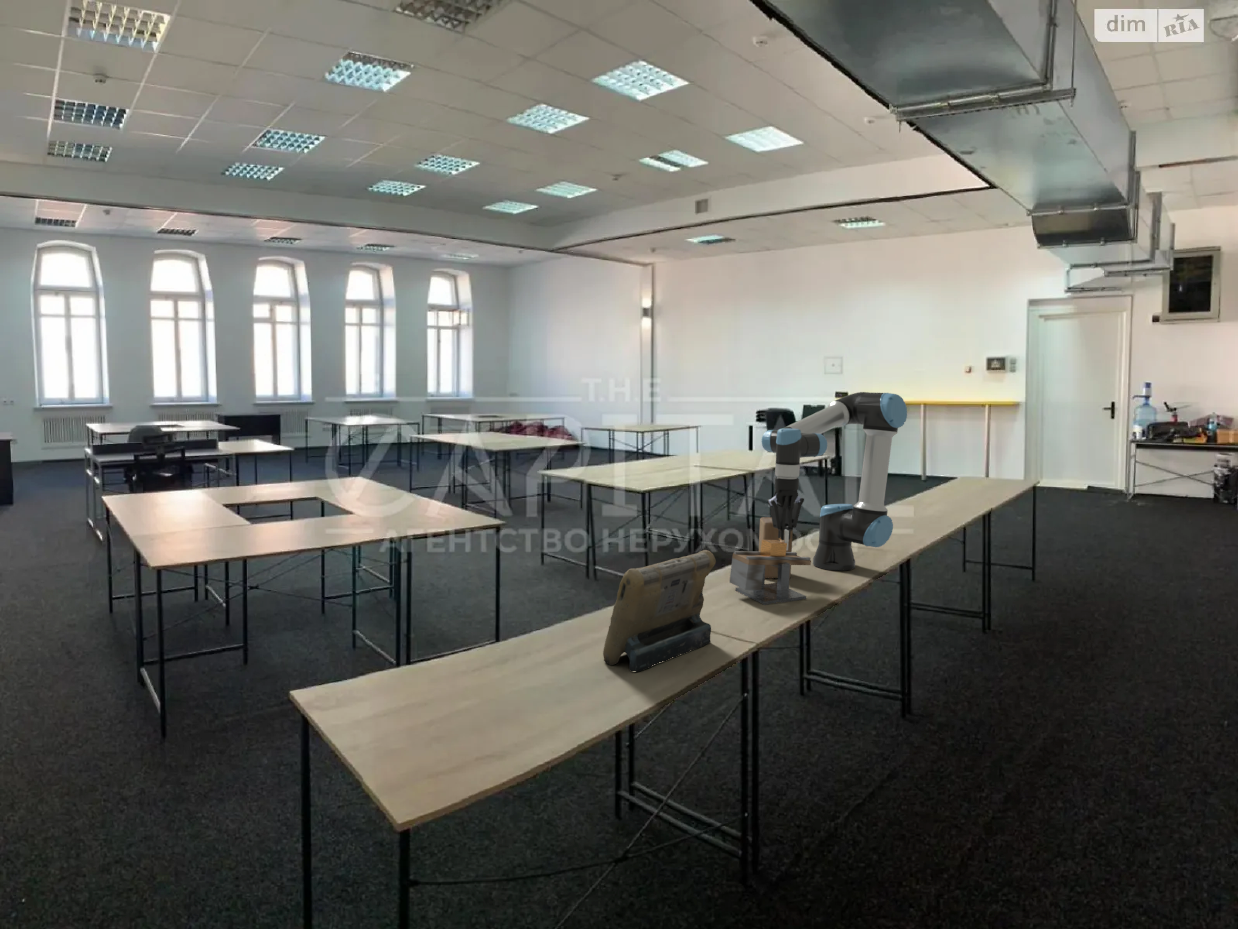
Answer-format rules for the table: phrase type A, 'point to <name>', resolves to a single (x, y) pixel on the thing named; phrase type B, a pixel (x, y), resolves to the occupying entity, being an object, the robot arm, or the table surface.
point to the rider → (773, 548)
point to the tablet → (659, 612)
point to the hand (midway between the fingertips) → (783, 549)
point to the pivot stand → (774, 588)
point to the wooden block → (771, 534)
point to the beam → (758, 567)
